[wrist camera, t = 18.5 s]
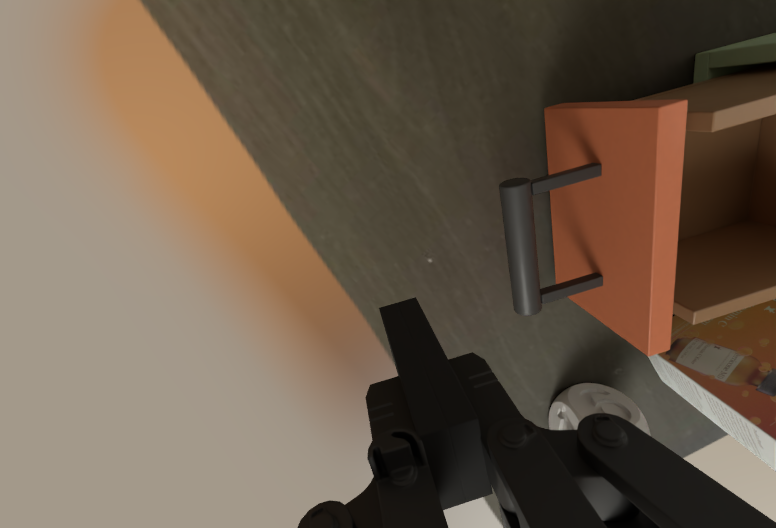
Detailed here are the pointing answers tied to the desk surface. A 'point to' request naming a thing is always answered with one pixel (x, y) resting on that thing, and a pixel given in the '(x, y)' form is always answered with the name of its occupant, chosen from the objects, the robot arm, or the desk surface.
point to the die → (592, 406)
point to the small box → (728, 373)
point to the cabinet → (735, 57)
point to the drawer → (655, 207)
